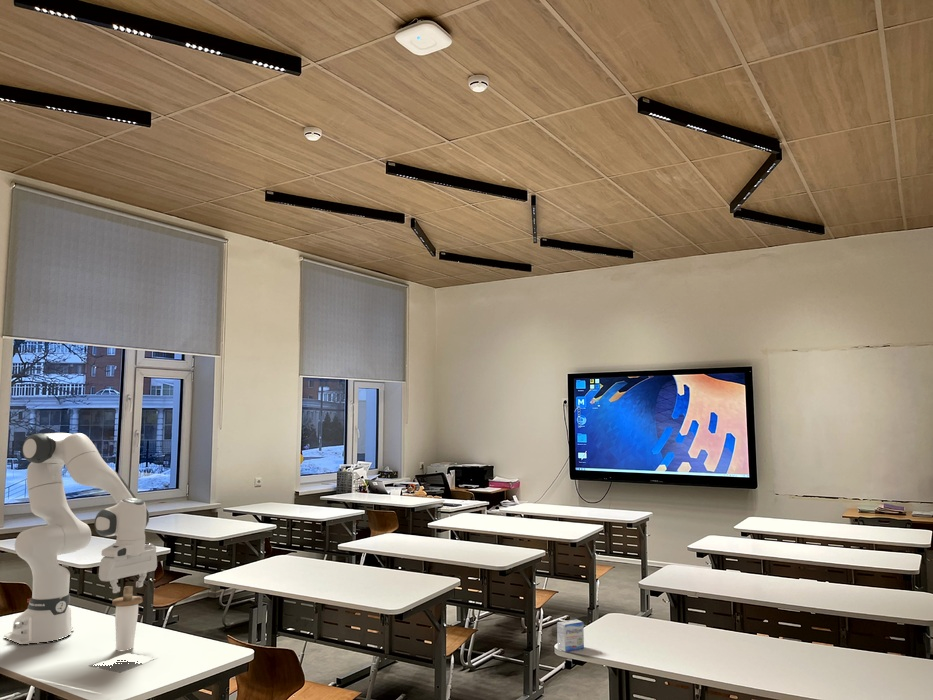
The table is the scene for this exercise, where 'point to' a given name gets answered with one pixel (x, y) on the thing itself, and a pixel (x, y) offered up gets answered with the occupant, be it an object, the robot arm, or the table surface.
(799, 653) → the table surface
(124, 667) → the mat
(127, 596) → the lid
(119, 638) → the drinking glass
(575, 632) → the medicine box
